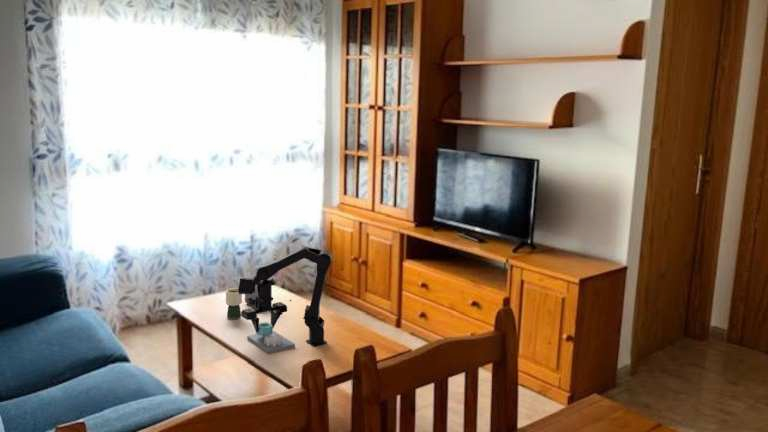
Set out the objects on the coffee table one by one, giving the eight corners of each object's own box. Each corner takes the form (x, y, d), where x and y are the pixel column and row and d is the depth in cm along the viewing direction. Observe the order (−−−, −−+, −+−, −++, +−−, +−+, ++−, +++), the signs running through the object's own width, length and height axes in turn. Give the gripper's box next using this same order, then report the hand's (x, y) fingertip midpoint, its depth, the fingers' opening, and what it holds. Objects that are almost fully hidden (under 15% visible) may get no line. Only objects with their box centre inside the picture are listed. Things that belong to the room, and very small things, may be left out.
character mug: (246, 319, 293) (246, 292, 291) (231, 322, 289) (231, 295, 287) (236, 312, 302) (236, 285, 299) (221, 315, 298) (221, 288, 295)
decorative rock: (243, 303, 315) (243, 273, 312) (255, 300, 319) (255, 271, 316) (260, 313, 303) (260, 282, 300) (272, 310, 307) (272, 280, 304)
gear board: (294, 347, 266) (294, 333, 265) (268, 353, 258) (268, 339, 257) (272, 333, 279) (272, 320, 278) (247, 339, 272) (247, 325, 271)
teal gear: (275, 333, 270) (275, 325, 269) (261, 337, 266) (261, 329, 265) (267, 328, 275) (267, 320, 274) (253, 332, 271) (253, 324, 270)
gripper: (274, 285, 279) (274, 320, 282) (234, 293, 267) (235, 328, 270) (288, 292, 270) (287, 327, 273) (247, 300, 259) (247, 337, 262)
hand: (264, 330), depth 270 cm, fingers closed on teal gear, 7 cm apart
